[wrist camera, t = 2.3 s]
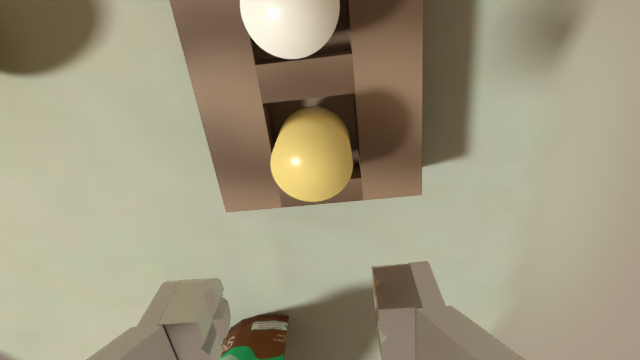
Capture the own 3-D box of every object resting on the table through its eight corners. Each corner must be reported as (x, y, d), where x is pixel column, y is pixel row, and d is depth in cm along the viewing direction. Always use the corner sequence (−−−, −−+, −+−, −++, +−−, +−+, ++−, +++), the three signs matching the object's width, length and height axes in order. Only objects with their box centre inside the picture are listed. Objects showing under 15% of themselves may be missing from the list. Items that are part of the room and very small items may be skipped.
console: (133, -252, 16) (86, -312, 13) (406, -303, 15) (426, -379, 12) (238, 186, 26) (226, 212, 23) (410, 170, 25) (421, 195, 22)
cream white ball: (248, -37, 17) (229, -45, 14) (333, -49, 17) (334, -59, 14) (263, 53, 19) (250, 64, 16) (341, 43, 19) (344, 53, 15)
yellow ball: (273, 110, 20) (263, 130, 17) (346, 102, 20) (349, 121, 17) (285, 175, 22) (277, 205, 19) (352, 168, 22) (356, 198, 18)
